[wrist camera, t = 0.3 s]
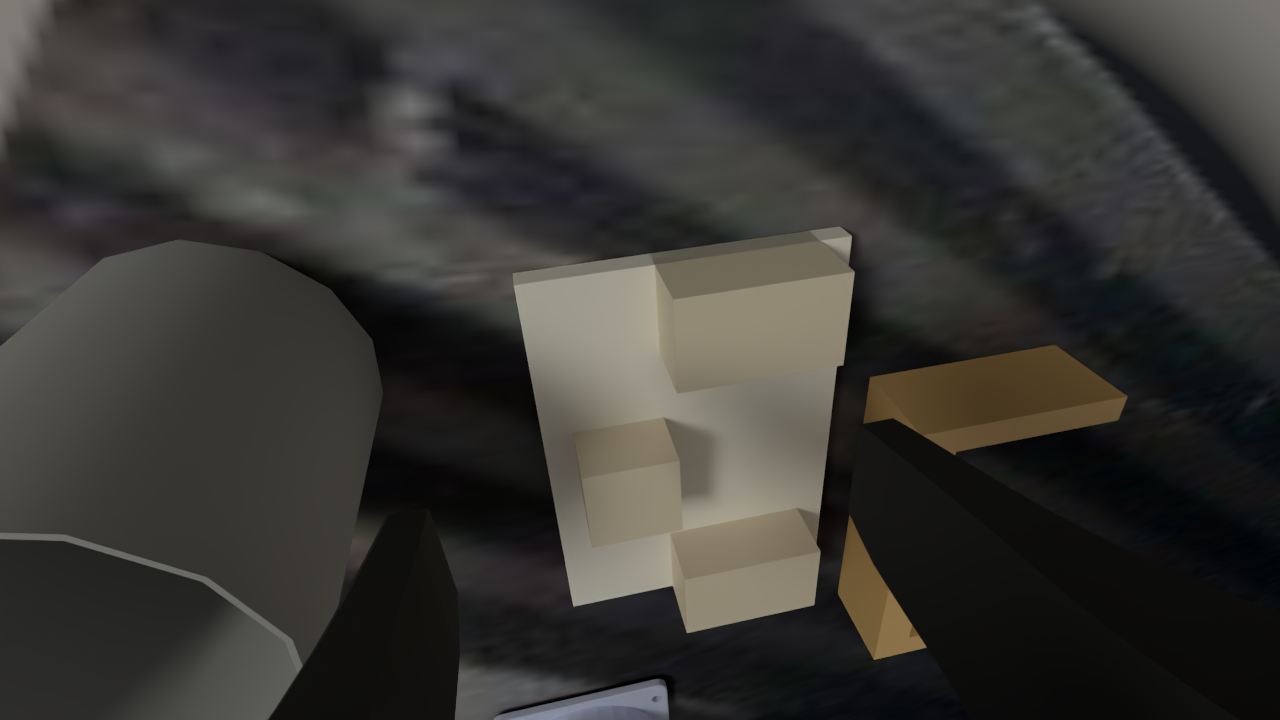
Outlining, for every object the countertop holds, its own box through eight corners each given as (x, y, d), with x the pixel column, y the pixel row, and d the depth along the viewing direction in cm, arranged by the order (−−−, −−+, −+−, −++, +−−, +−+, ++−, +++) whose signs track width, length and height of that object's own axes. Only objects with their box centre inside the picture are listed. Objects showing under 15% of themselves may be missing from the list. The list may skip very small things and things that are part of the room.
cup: (393, 271, 19) (323, 542, 10) (374, 493, 22) (312, 820, 14) (19, 216, 16) (-472, 517, 8) (71, 478, 20) (-219, 864, 12)
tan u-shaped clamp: (1055, 344, 25) (1127, 396, 22) (985, 560, 32) (1034, 622, 29) (870, 377, 24) (921, 435, 21) (837, 593, 31) (874, 660, 28)
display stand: (840, 226, 21) (889, 266, 18) (807, 540, 28) (838, 599, 26) (512, 273, 19) (517, 323, 17) (571, 589, 27) (580, 656, 24)
